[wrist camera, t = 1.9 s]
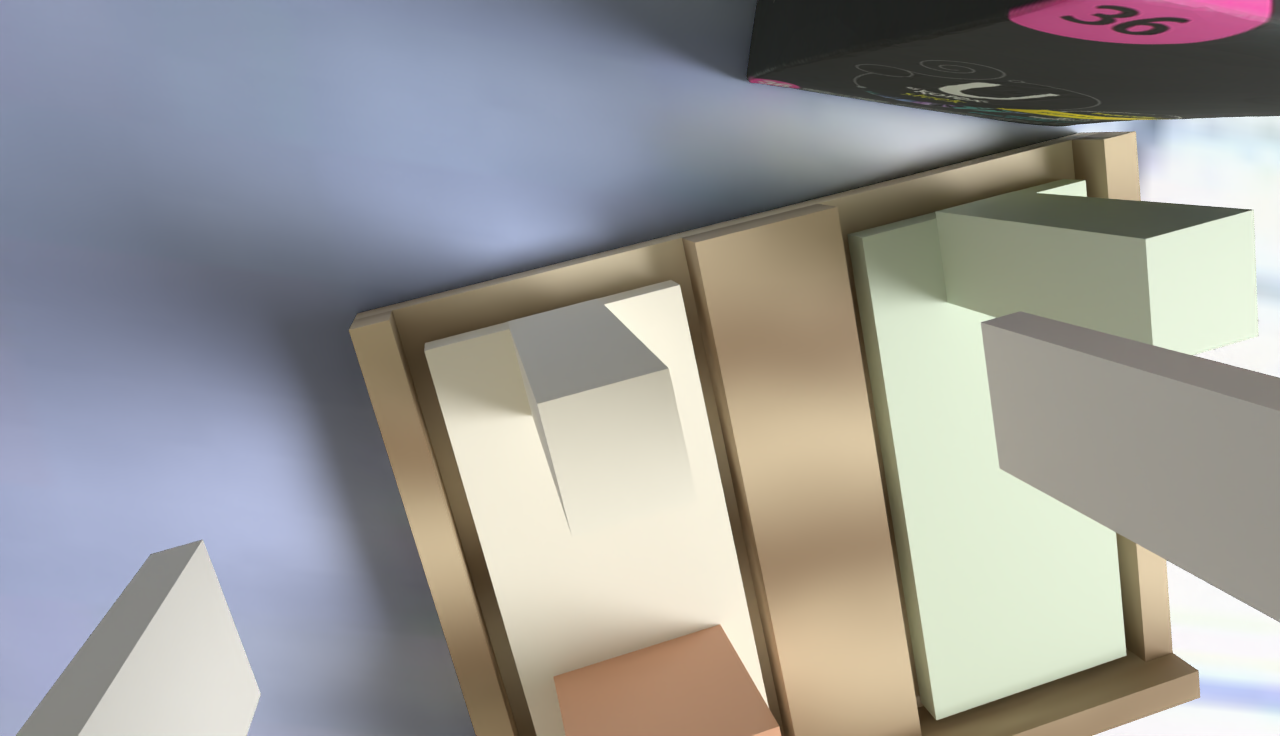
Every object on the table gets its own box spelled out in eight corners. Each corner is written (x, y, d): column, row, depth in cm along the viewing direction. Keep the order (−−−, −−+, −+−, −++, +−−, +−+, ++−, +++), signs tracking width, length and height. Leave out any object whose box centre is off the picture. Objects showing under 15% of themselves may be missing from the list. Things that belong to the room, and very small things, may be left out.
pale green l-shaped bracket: (845, 227, 26) (1042, 267, 18) (1062, 172, 27) (1348, 183, 18) (921, 702, 30) (1109, 921, 22) (1105, 639, 31) (1355, 826, 23)
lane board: (357, 313, 25) (343, 338, 22) (1079, 132, 28) (1164, 130, 25) (521, 846, 30) (531, 933, 27) (1123, 642, 33) (1200, 697, 30)
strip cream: (422, 335, 24) (411, 437, 16) (669, 272, 25) (785, 336, 17) (564, 822, 29) (616, 1111, 20) (771, 752, 30) (905, 999, 21)
